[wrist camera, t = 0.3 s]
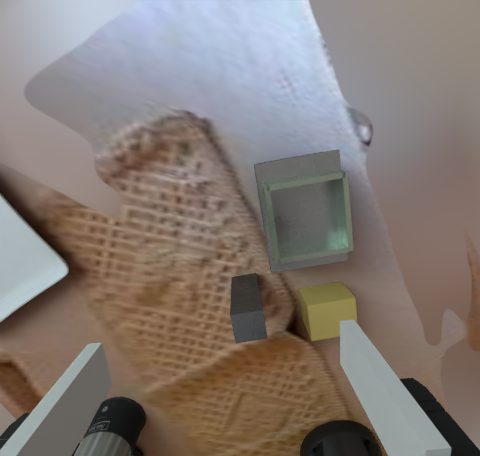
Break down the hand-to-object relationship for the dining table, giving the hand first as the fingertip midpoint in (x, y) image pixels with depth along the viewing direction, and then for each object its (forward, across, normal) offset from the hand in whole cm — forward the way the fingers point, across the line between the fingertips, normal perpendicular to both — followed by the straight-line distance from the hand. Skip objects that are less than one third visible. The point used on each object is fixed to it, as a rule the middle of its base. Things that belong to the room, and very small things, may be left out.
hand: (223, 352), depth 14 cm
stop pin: (+27, -1, +9) cm, 29 cm away
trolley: (+27, -9, -3) cm, 29 cm away
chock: (+27, -14, +14) cm, 33 cm away
